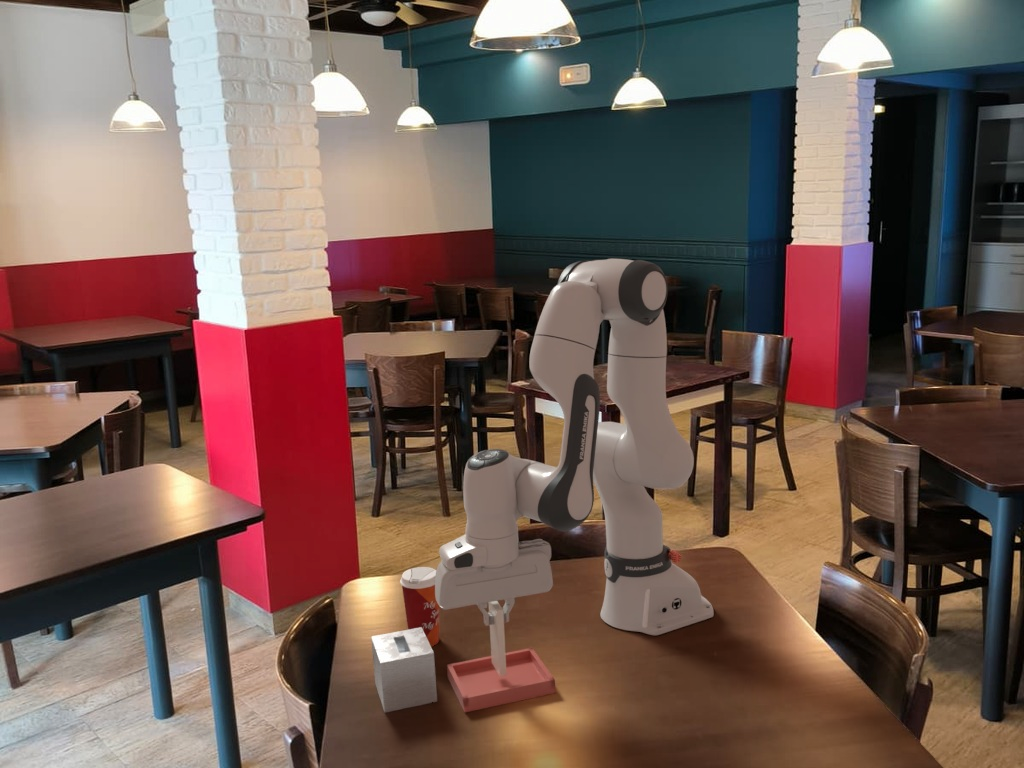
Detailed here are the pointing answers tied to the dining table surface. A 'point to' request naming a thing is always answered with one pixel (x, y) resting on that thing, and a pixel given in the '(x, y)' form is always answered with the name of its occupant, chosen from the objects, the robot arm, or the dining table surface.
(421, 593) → the paper cup
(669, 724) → the dining table surface
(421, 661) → the dispenser
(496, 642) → the long rectangular block
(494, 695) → the tray
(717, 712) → the dining table surface
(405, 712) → the dining table surface
